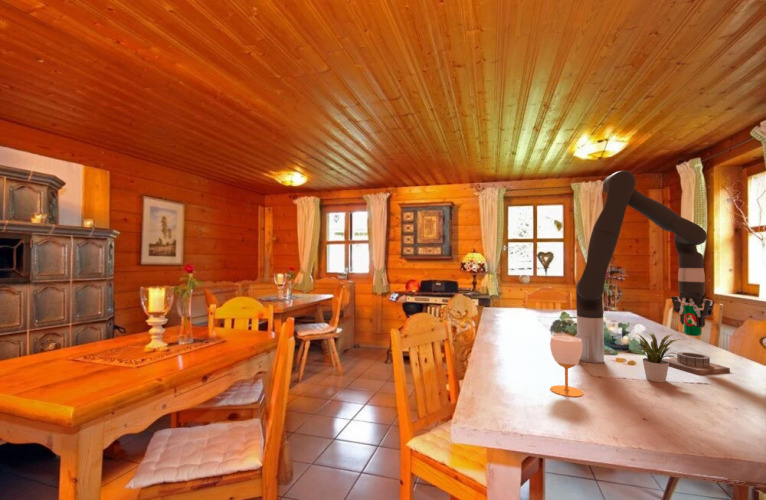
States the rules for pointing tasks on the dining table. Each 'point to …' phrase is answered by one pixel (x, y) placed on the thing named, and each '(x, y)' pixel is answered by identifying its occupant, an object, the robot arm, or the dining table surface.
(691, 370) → the can holder
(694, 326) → the soda can
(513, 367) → the dining table surface
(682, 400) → the dining table surface
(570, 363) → the cup
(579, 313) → the robot arm
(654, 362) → the house plant
